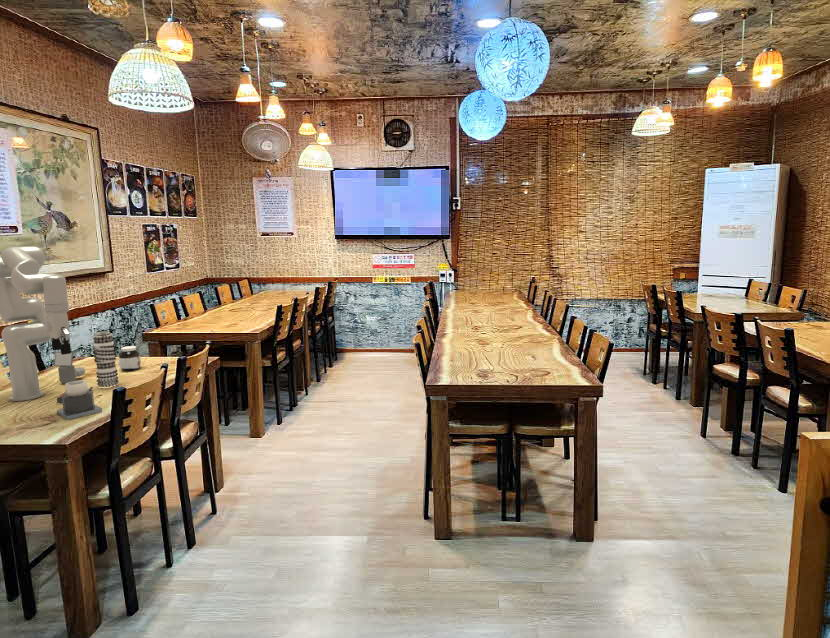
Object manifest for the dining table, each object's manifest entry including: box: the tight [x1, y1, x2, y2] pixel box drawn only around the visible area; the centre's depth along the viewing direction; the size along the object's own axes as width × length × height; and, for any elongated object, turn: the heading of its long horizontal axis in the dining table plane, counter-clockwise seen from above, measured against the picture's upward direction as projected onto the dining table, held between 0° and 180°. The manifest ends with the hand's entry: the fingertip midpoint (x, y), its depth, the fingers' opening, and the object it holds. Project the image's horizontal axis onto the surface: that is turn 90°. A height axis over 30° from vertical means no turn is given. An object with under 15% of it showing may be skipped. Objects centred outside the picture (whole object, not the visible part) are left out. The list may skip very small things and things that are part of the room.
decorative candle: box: [92, 330, 120, 388], centre depth 250 cm, size 9×9×25 cm
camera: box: [53, 351, 86, 384], centre depth 261 cm, size 9×12×15 cm
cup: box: [64, 379, 89, 397], centre depth 213 cm, size 7×7×8 cm
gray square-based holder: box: [56, 390, 103, 421], centre depth 214 cm, size 12×12×8 cm
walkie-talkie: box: [56, 386, 94, 404], centre depth 236 cm, size 9×4×20 cm
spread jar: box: [117, 345, 142, 372], centre depth 282 cm, size 12×11×12 cm
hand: (61, 351), depth 213 cm, fingers open, 9 cm apart
